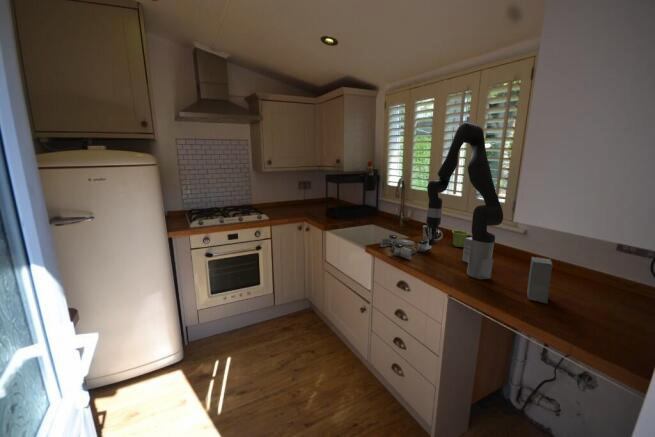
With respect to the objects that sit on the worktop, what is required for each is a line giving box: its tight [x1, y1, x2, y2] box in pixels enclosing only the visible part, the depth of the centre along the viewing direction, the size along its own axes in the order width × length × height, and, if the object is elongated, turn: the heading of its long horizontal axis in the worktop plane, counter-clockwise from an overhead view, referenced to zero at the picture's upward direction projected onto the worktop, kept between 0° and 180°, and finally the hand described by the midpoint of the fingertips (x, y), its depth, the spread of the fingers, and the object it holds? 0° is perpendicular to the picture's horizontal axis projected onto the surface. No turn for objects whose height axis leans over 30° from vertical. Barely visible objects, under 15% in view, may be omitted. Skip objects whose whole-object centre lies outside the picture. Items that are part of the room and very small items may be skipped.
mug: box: [422, 224, 444, 241], centre depth 187 cm, size 8×13×10 cm, turn 82°
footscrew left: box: [393, 243, 413, 260], centre depth 158 cm, size 11×5×6 cm, turn 33°
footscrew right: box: [417, 239, 432, 253], centre depth 171 cm, size 11×5×6 cm, turn 127°
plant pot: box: [451, 230, 470, 248], centre depth 182 cm, size 9×9×9 cm
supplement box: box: [461, 236, 472, 264], centre depth 154 cm, size 7×7×13 cm
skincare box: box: [526, 256, 554, 304], centre depth 116 cm, size 8×7×16 cm
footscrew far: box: [380, 234, 398, 248], centre depth 176 cm, size 11×5×6 cm, turn 118°
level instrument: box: [391, 238, 418, 255], centre depth 169 cm, size 14×14×6 cm
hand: (430, 245), depth 169 cm, fingers closed
